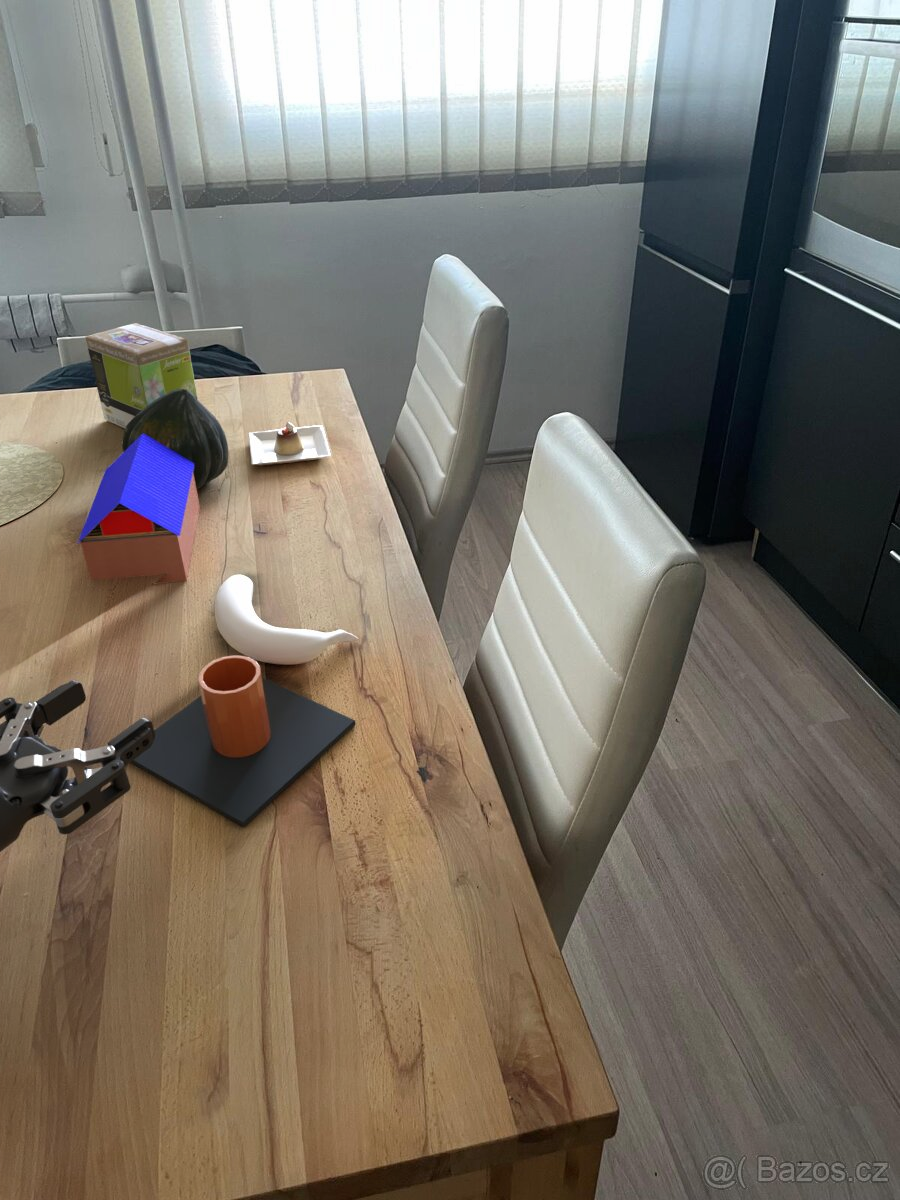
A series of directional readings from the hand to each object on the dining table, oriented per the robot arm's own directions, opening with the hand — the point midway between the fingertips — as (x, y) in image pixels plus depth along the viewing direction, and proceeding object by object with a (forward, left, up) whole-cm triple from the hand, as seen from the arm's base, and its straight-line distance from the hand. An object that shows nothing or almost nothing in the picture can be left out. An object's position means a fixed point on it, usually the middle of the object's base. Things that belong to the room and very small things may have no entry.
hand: (114, 707), depth 75 cm
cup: (0, +12, -13) cm, 17 cm away
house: (-37, +33, -13) cm, 51 cm away
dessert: (-41, +65, -13) cm, 78 cm away
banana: (-10, +29, -13) cm, 33 cm away
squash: (-47, +48, -13) cm, 68 cm away
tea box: (-68, +61, -13) cm, 92 cm away
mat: (0, +12, -13) cm, 18 cm away
